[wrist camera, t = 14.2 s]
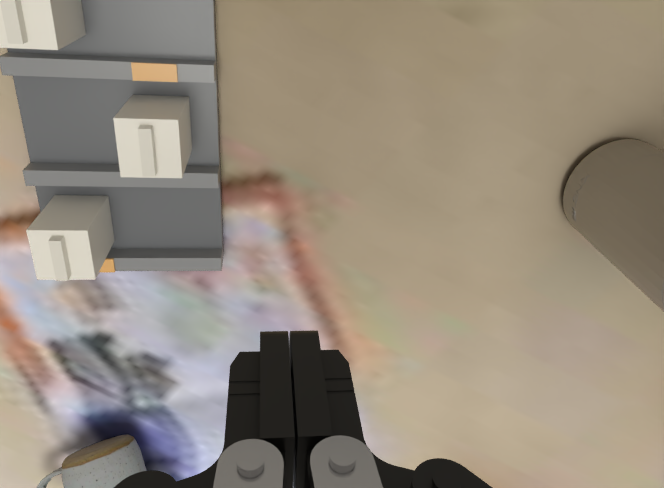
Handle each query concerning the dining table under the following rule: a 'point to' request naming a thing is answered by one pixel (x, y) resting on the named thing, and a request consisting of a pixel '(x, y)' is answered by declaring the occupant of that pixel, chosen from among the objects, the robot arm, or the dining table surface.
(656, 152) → the robot arm
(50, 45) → the cream upright block
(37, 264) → the white rectangular block
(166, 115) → the off-white rectangular block
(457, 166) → the dining table surface
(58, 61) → the switch bank
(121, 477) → the ceramic mug
